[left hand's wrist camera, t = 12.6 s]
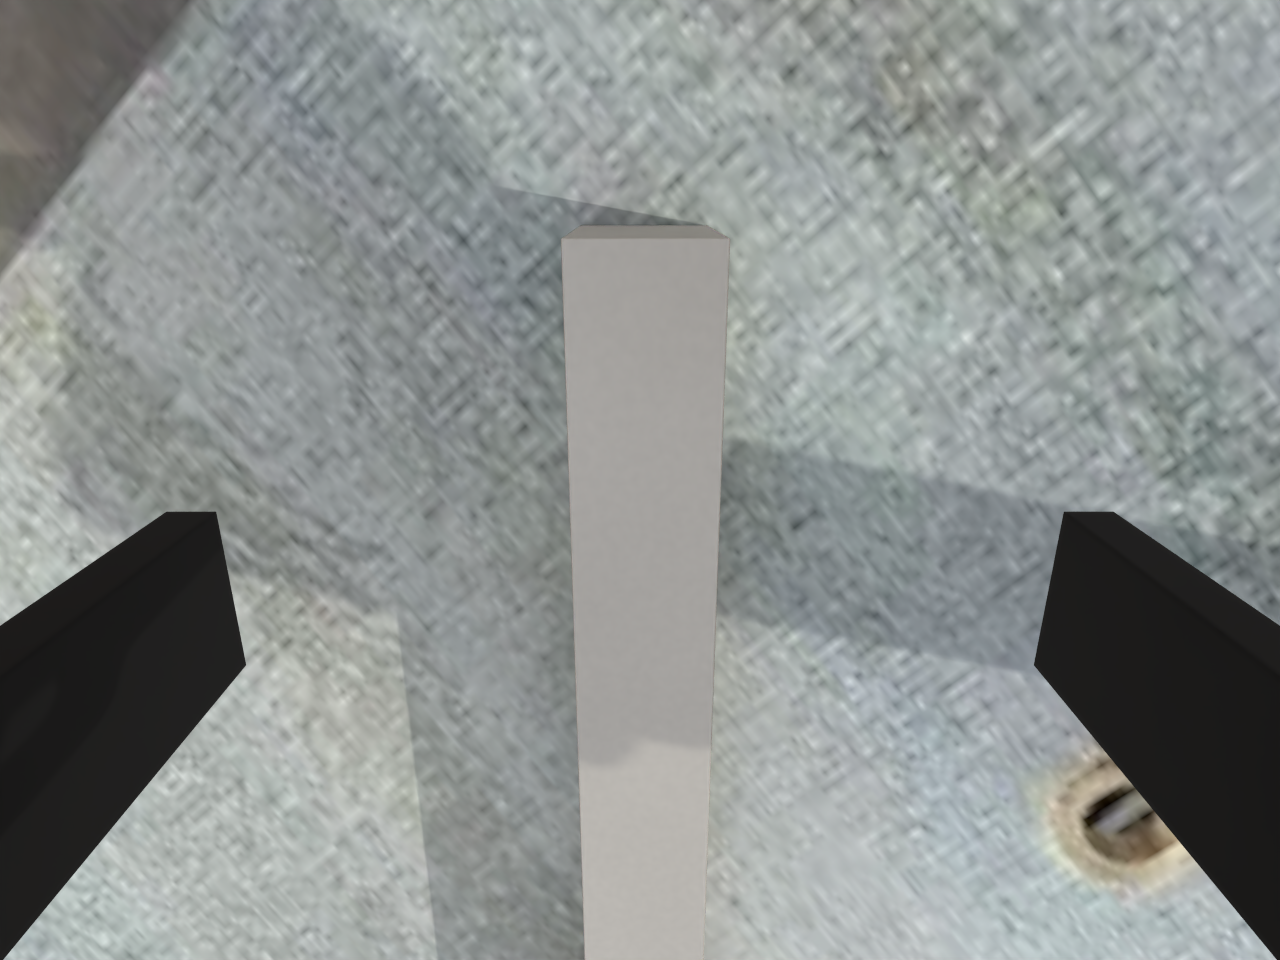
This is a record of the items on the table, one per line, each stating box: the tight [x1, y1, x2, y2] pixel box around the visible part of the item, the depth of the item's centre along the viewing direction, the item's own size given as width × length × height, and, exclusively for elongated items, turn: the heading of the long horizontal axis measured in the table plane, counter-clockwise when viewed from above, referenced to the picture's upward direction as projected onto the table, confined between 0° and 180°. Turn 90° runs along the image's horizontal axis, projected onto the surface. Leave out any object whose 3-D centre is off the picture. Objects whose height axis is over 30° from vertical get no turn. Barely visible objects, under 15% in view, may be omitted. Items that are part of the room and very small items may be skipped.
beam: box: [561, 225, 730, 960], centre depth 39 cm, size 68×5×8 cm, turn 0°
